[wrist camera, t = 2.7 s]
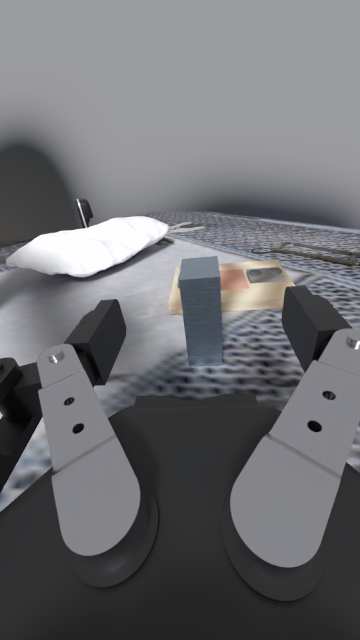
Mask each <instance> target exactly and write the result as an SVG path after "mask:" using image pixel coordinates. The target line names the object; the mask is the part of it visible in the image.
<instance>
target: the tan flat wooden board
mask: <svg viewBox="0 0 360 640" xmlns="http://www.w3.org/2000/svg"><path fill="white" fill-rule="evenodd" d="M218 265H219V271H220V279H221V312H227V311H244V310H262V309H279V308H283V302H284V293H285V289H286V287H288V286H295V285H294V283H293V282H292V281H291V279H290V278H289V276H288V275H287V274H286V272H285V271H284V269H283V268H282V267H281V265H280V264H279V263H278V261H277V260H266V261H253V262H241V263H228V264H218ZM180 269H181V267H178V268H176V271H175V275H174V280H173V285H172V289H171V294H170V299H169V303H168V309H169V315H175V314H183V311H182V303H181V295H180V287H179V275H180Z"/></svg>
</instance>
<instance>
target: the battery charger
mask: <svg viewBox="0 0 360 640" xmlns="http://www.w3.org/2000/svg"><path fill="white" fill-rule="evenodd" d="M75 203H76V207H77V210H78V213H79V217H80V220H81V223H82V226H83V228H88V227H89V225H88V223H89V221H90V220H89V219H90V218H93V214H92V211H91V208H90V205H89V203H88V201H87V200H86V199H77V200H75Z"/></svg>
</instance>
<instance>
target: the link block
mask: <svg viewBox="0 0 360 640" xmlns="http://www.w3.org/2000/svg"><path fill="white" fill-rule="evenodd" d="M179 287H180V295H181V303H182V311H183V319H184V327H185V335H186V343H187V351H188V359H189V366H213V365H223V357H222V318H221V279H220V271H219V265H218V259H217V256H214V257H202V258H190V259H182V263H181V269H180V275H179Z"/></svg>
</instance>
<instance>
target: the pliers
mask: <svg viewBox="0 0 360 640" xmlns="http://www.w3.org/2000/svg"><path fill="white" fill-rule="evenodd" d="M189 223H191V222H186V223H181V224H178V225H175V226H172V227H171V226H168V232H167V233H172V232H186V231H192V230H197V229H201V228H205V226H202V227H196V228H190V229H188V228H180V226H182V225H186V224H189ZM175 228H176V229H178V230H174V229H175ZM179 228H180V229H179Z"/></svg>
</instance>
